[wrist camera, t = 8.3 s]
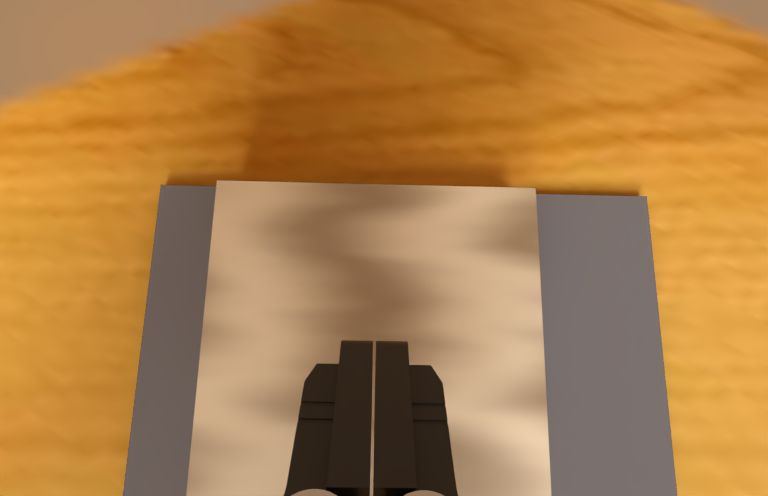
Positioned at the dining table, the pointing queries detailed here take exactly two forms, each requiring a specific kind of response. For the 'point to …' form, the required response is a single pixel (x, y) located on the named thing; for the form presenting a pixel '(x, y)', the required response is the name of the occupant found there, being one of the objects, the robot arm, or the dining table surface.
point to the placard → (371, 322)
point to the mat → (560, 333)
